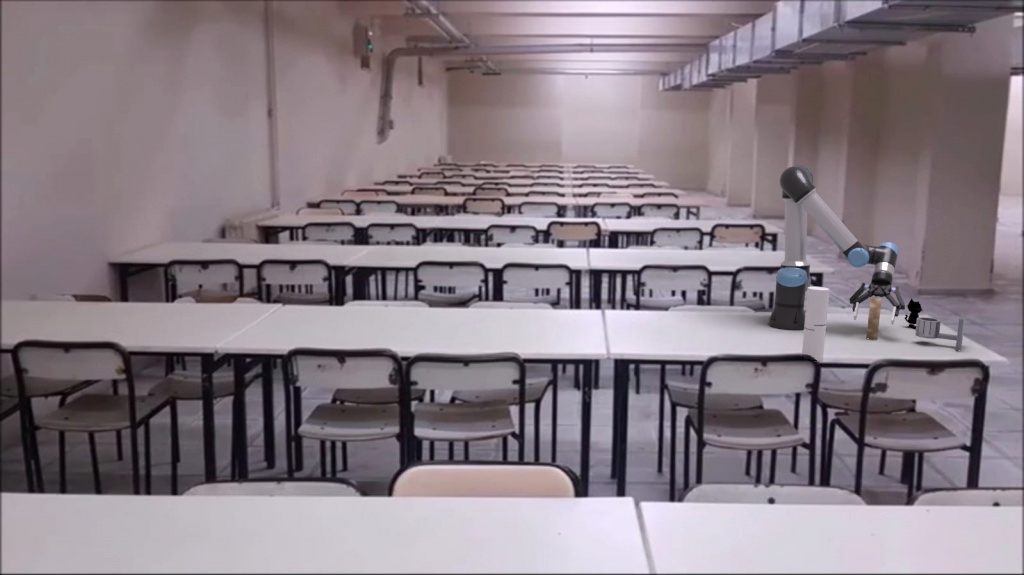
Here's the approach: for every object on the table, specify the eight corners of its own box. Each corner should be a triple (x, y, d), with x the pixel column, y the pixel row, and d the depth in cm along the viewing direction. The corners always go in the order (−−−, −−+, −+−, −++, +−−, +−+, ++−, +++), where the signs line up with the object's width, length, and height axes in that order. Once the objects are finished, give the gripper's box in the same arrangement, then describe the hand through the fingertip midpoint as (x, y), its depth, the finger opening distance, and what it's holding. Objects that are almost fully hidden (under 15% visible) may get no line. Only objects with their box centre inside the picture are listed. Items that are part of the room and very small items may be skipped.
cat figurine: (924, 329, 371) (927, 301, 369) (908, 329, 371) (911, 300, 369) (915, 325, 378) (918, 297, 376) (899, 325, 378) (903, 297, 376)
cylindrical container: (824, 361, 313) (830, 290, 309) (802, 360, 315) (809, 289, 310) (821, 356, 320) (827, 287, 316) (800, 355, 322) (806, 286, 317)
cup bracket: (912, 345, 343) (916, 314, 341) (916, 339, 353) (919, 309, 351) (959, 351, 335) (963, 319, 333) (961, 345, 345) (965, 314, 343)
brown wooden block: (865, 339, 351) (869, 298, 348) (867, 337, 354) (871, 297, 352) (876, 340, 349) (880, 299, 346) (878, 338, 352) (882, 298, 350)
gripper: (916, 285, 356) (908, 329, 345) (850, 279, 367) (840, 321, 357) (916, 274, 350) (908, 318, 340) (849, 267, 362) (839, 310, 352)
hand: (873, 320), depth 348 cm, fingers open, 13 cm apart
